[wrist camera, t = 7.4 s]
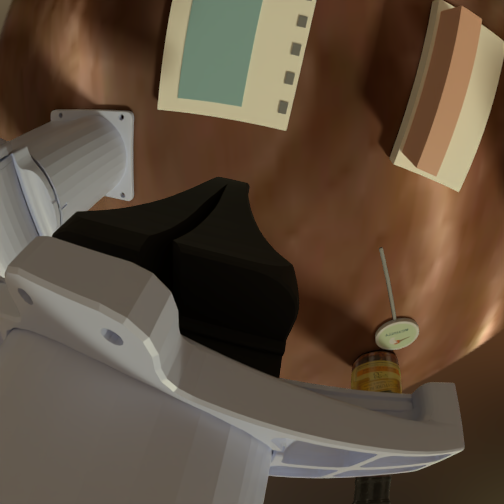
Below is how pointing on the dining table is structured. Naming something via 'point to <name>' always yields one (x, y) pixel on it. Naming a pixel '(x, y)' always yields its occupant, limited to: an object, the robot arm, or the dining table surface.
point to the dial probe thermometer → (395, 323)
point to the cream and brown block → (449, 96)
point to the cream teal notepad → (235, 58)
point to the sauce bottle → (378, 380)
